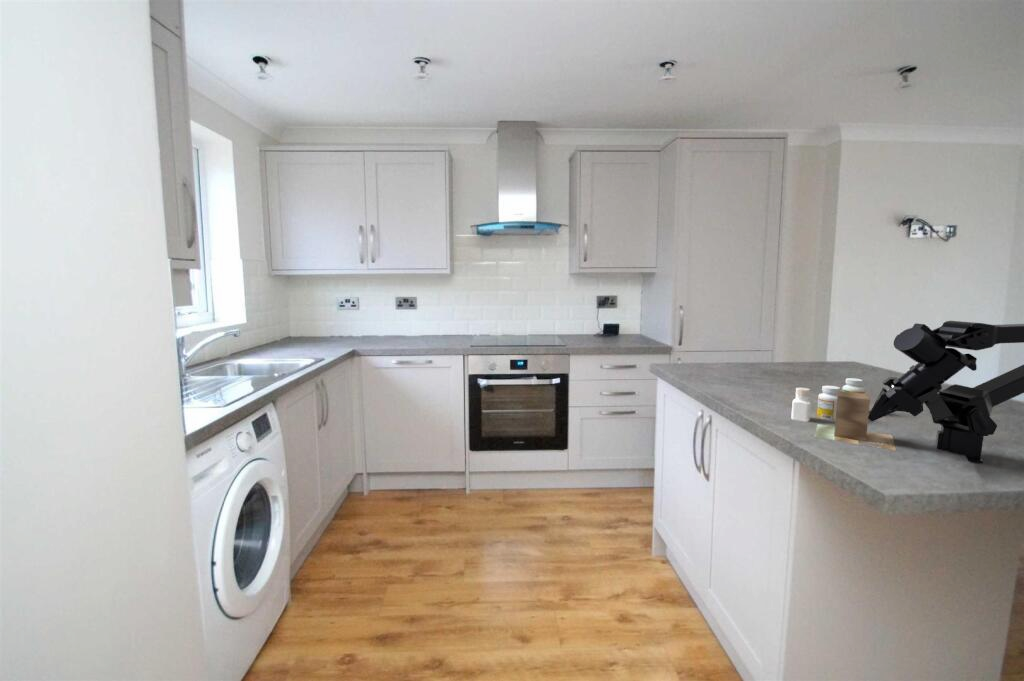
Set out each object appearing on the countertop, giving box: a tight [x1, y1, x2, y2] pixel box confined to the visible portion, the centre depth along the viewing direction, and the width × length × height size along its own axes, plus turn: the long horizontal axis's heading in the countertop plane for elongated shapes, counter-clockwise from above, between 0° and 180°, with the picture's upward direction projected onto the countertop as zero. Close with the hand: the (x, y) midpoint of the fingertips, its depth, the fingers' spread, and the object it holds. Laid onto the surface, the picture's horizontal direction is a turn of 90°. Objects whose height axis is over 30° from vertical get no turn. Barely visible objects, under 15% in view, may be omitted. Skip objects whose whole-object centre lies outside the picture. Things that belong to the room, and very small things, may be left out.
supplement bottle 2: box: [841, 377, 866, 394], centre depth 132 cm, size 5×5×10 cm
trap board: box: [813, 424, 897, 452], centre depth 108 cm, size 15×12×1 cm
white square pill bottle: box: [790, 387, 812, 423], centre depth 121 cm, size 4×4×10 cm
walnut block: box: [834, 390, 871, 443], centre depth 107 cm, size 6×6×10 cm
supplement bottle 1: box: [816, 385, 841, 421], centre depth 122 cm, size 5×5×10 cm
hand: (869, 419), depth 104 cm, fingers closed, pressing on walnut block
